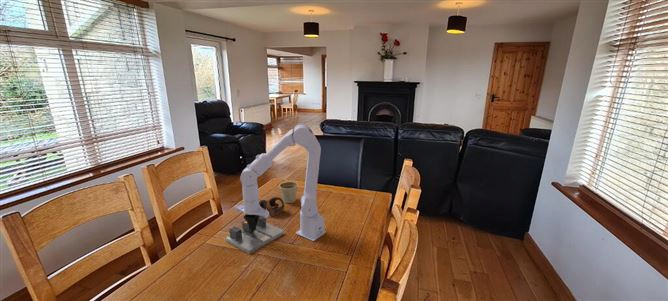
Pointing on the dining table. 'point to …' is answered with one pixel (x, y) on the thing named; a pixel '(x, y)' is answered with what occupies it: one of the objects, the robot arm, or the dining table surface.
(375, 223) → the dining table surface
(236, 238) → the panel
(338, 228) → the dining table surface
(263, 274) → the dining table surface
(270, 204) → the pottery mug
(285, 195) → the flower pot
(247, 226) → the breaker
